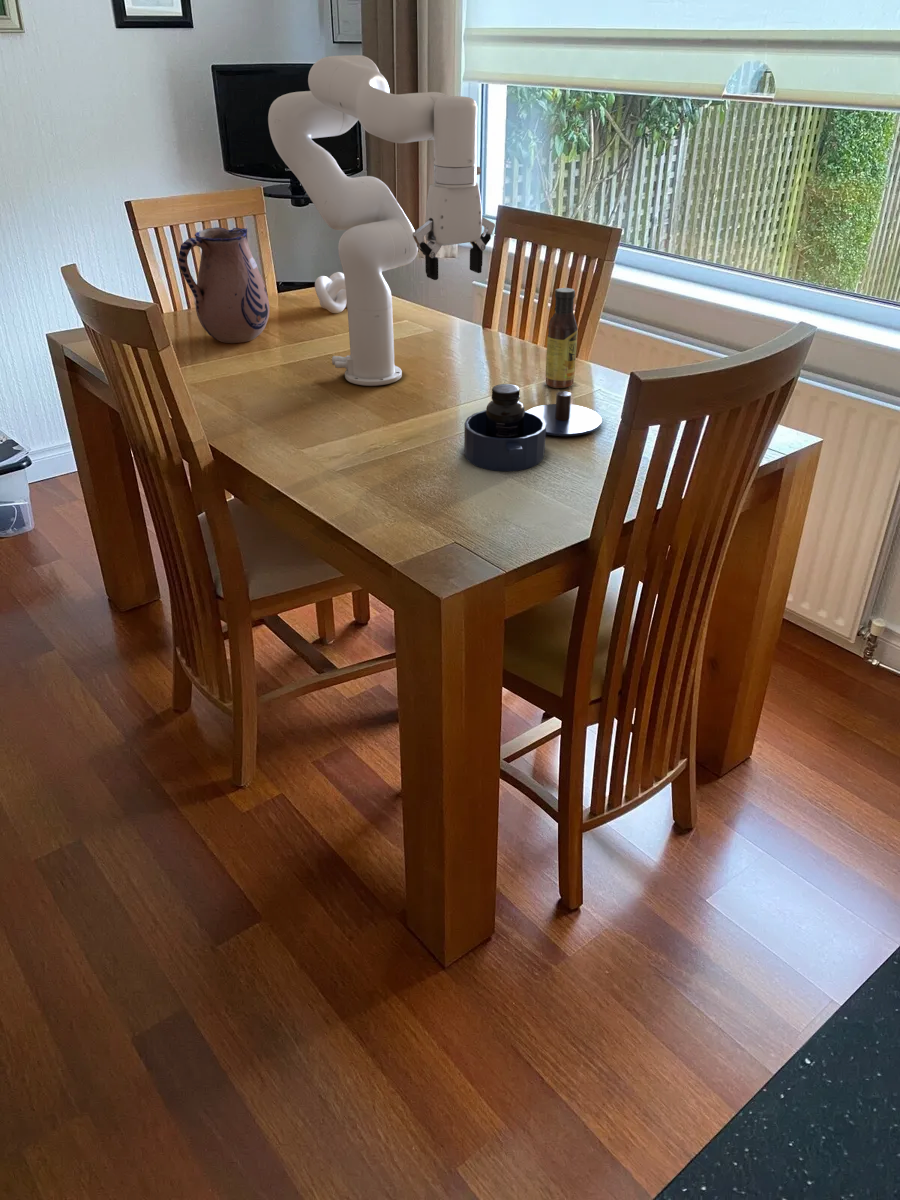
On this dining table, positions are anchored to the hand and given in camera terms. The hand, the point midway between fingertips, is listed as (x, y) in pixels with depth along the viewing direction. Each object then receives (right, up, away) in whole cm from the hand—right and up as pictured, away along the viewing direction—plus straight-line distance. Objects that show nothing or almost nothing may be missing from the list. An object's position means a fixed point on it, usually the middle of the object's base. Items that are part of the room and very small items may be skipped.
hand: (454, 274), depth 169 cm
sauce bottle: (+23, -15, +25) cm, 37 cm away
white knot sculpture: (-32, +17, +74) cm, 82 cm away
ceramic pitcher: (-55, +3, +52) cm, 75 cm away
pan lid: (+21, -26, +6) cm, 34 cm away
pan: (+9, -35, -6) cm, 37 cm away
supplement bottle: (+9, -35, -6) cm, 36 cm away
